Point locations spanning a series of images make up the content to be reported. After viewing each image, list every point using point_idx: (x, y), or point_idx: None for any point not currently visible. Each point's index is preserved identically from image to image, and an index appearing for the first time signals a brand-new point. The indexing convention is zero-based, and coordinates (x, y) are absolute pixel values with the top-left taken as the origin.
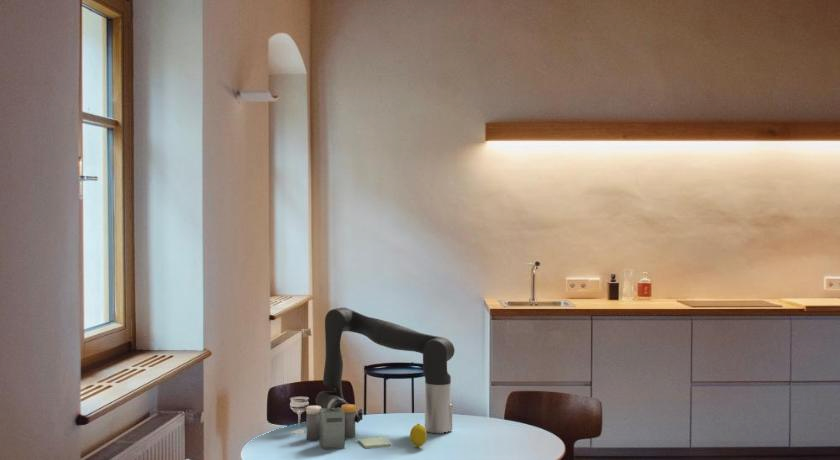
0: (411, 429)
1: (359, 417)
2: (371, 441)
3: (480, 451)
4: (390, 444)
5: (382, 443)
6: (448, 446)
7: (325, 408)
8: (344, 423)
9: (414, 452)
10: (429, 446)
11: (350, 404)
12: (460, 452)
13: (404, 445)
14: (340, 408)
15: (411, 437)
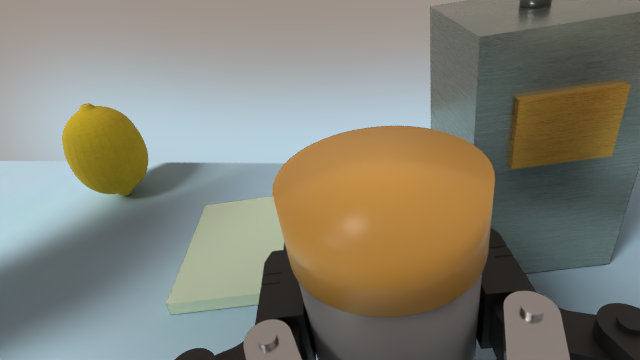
0: (120, 127)
1: (277, 254)
2: (276, 238)
3: (2, 166)
4: (210, 206)
5: (239, 210)
6: (20, 203)
7: (623, 11)
8: (431, 81)
9: (178, 162)
10: (76, 206)
11: (338, 217)
12: (57, 161)
13: (149, 221)
14: (470, 25)
15: (144, 145)
